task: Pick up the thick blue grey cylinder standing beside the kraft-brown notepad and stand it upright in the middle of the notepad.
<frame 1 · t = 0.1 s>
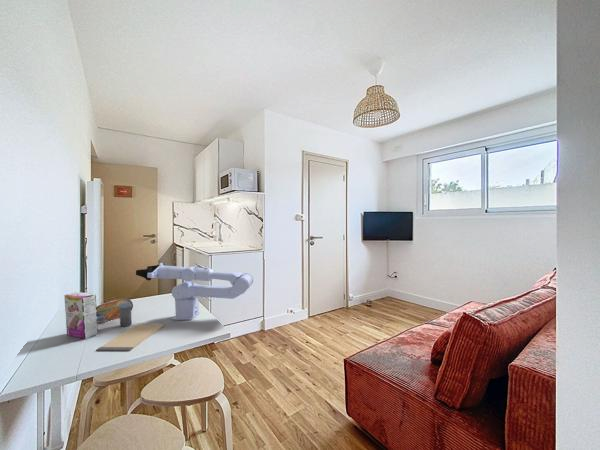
hand: (142, 270, 115), 22 cm above the table, tool horizontal, fingers open, 7 cm apart
tin: (114, 319, 115), on the table
candy bar box: (82, 335, 99), on the table
blue grey cylinder: (126, 325, 107), on the table
notepad: (134, 336, 97), on the table
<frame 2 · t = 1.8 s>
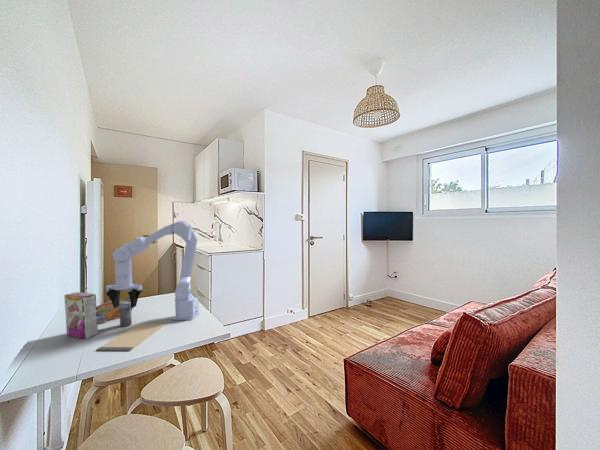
hand: (125, 306, 107), 8 cm above the table, tool pointing down, fingers open, 7 cm apart
nothing on the table moved.
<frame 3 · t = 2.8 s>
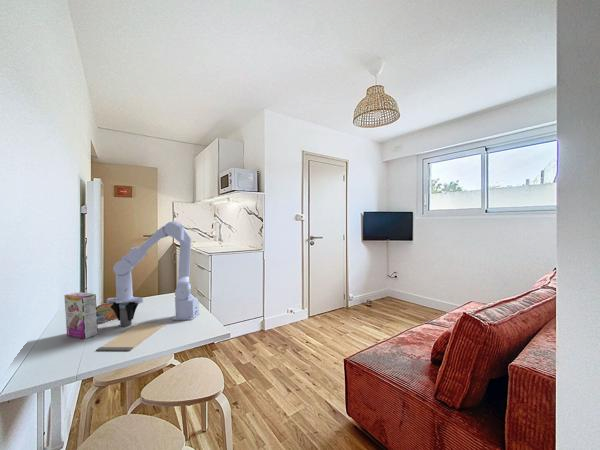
hand: (125, 319, 107), 2 cm above the table, tool pointing down, fingers closed on blue grey cylinder, 4 cm apart
blue grey cylinder: (126, 325, 107), on the table, touching gripper
everything else where it was.
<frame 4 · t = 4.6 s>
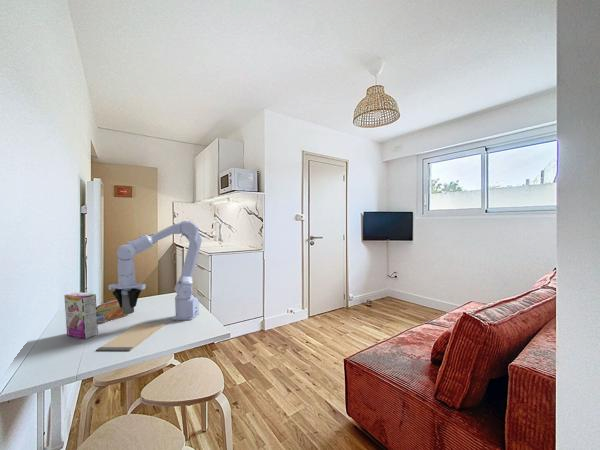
hand: (128, 306, 103), 9 cm above the table, tool pointing down, fingers closed on blue grey cylinder, 4 cm apart
blue grey cylinder: (128, 312, 103), point 7 cm above the table, touching gripper
everything else where it was.
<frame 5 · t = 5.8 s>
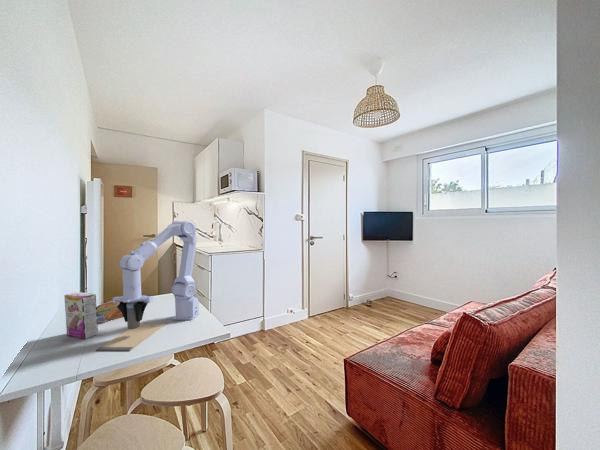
hand: (133, 320, 97), 6 cm above the table, tool pointing down, fingers closed on blue grey cylinder, 4 cm apart
blue grey cylinder: (133, 327, 97), point 4 cm above the table, touching gripper
everything else where it was.
when the fingers open (4 cm above the table, at t = 6.6 s): blue grey cylinder stays where it is, resting on notepad.
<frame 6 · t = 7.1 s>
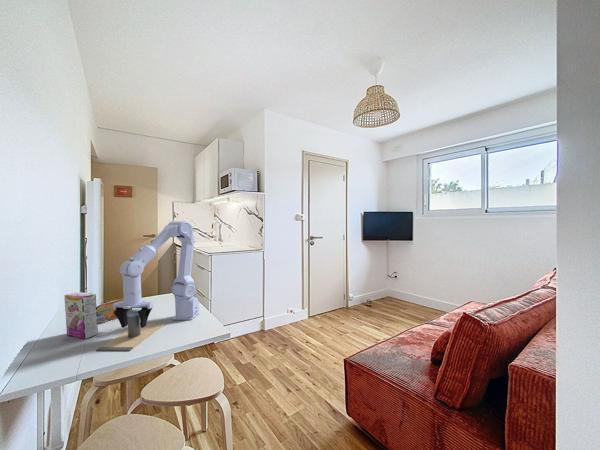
hand: (134, 326, 97), 4 cm above the table, tool pointing down, fingers open, 7 cm apart
blue grey cylinder: (134, 335, 97), resting on notepad
everything else where it was.
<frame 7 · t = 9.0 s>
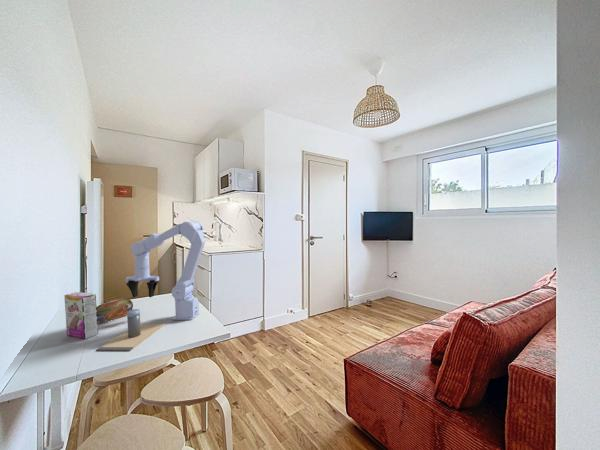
hand: (143, 296, 116), 9 cm above the table, tool pointing down, fingers open, 7 cm apart
nothing on the table moved.
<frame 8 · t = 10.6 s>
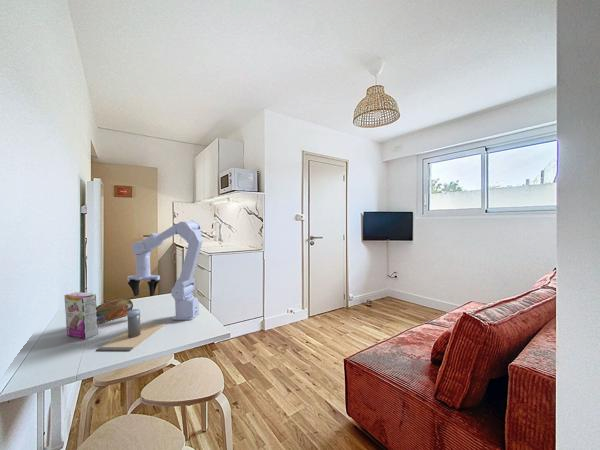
hand: (144, 295, 118), 9 cm above the table, tool pointing down, fingers open, 7 cm apart
nothing on the table moved.
at the end: blue grey cylinder inside the target area on the notepad (0.0 cm from its centre), point 0.4 cm above the notepad's base; blue grey cylinder tilted 1°; the gripper is holding nothing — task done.
